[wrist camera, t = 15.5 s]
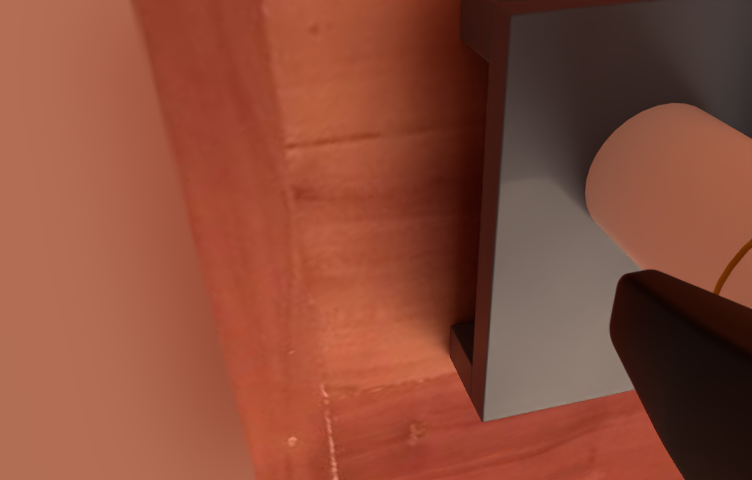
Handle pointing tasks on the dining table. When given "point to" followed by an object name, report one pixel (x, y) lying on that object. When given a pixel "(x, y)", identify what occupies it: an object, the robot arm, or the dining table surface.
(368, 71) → the dining table surface
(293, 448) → the dining table surface
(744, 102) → the shelf
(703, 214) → the tube
